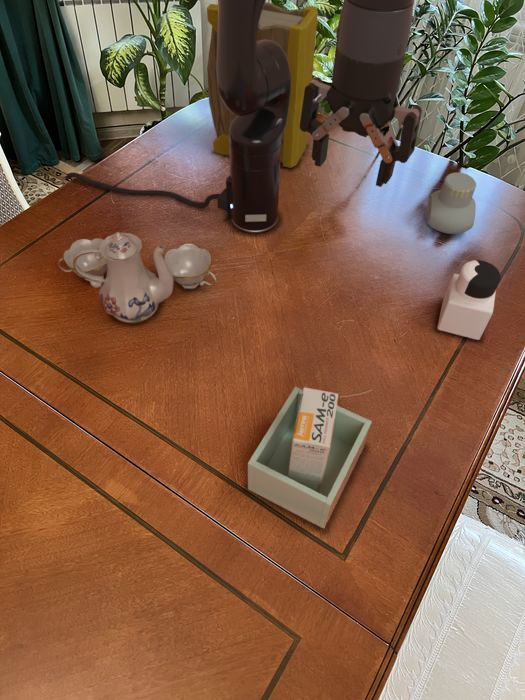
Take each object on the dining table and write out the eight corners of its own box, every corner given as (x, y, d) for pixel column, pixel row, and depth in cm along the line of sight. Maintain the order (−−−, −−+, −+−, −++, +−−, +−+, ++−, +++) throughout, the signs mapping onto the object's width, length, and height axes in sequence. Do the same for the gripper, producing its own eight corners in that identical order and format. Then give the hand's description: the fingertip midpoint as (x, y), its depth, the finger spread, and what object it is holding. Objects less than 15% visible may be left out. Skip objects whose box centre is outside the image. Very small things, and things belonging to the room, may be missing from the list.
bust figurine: (483, 311, 100) (507, 260, 91) (479, 341, 96) (504, 291, 86) (442, 301, 101) (462, 250, 92) (436, 330, 97) (456, 280, 88)
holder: (247, 489, 79) (247, 463, 73) (292, 415, 86) (295, 386, 80) (323, 529, 76) (330, 505, 69) (363, 448, 83) (372, 421, 77)
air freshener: (468, 244, 111) (485, 201, 103) (425, 238, 112) (438, 196, 104) (466, 208, 118) (481, 166, 110) (425, 203, 118) (437, 161, 110)
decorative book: (309, 145, 131) (321, 1, 107) (293, 171, 124) (303, 25, 100) (228, 127, 135) (223, -16, 111) (209, 152, 128) (199, 6, 105)
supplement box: (320, 495, 78) (331, 449, 67) (285, 488, 78) (291, 441, 68) (328, 442, 83) (340, 392, 72) (295, 436, 83) (302, 385, 73)
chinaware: (218, 268, 108) (215, 189, 96) (215, 329, 96) (211, 248, 84) (68, 268, 107) (46, 188, 95) (47, 330, 95) (18, 248, 83)
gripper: (446, 45, 61) (411, 174, 74) (326, 15, 65) (313, 142, 78) (423, 75, 57) (391, 206, 70) (296, 41, 61) (287, 171, 74)
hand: (349, 172), depth 74 cm, fingers open, 8 cm apart
